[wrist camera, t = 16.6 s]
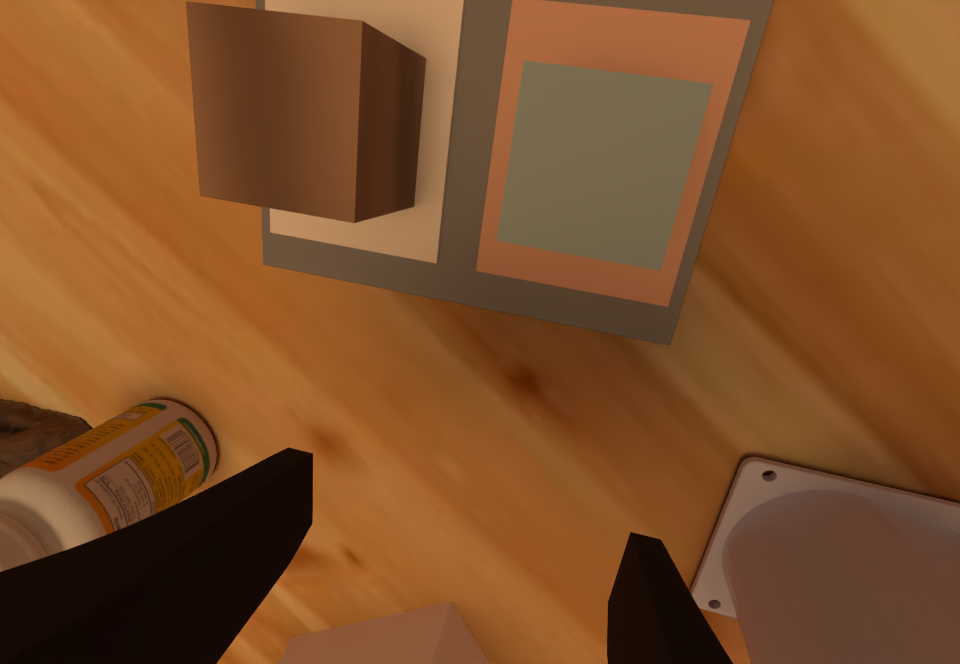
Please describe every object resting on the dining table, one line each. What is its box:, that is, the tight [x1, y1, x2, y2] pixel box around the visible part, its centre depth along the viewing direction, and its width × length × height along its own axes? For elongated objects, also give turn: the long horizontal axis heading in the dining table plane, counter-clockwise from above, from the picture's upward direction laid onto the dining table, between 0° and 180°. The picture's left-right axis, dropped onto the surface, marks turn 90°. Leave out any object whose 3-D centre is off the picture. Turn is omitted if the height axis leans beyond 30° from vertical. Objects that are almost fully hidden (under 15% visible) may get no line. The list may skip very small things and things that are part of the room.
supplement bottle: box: [0, 400, 217, 572], centre depth 22 cm, size 5×5×10 cm
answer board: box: [256, 0, 774, 345], centre depth 18 cm, size 17×12×1 cm
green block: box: [496, 61, 713, 271], centre depth 14 cm, size 4×4×6 cm
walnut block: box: [186, 2, 426, 223], centre depth 16 cm, size 5×5×5 cm
